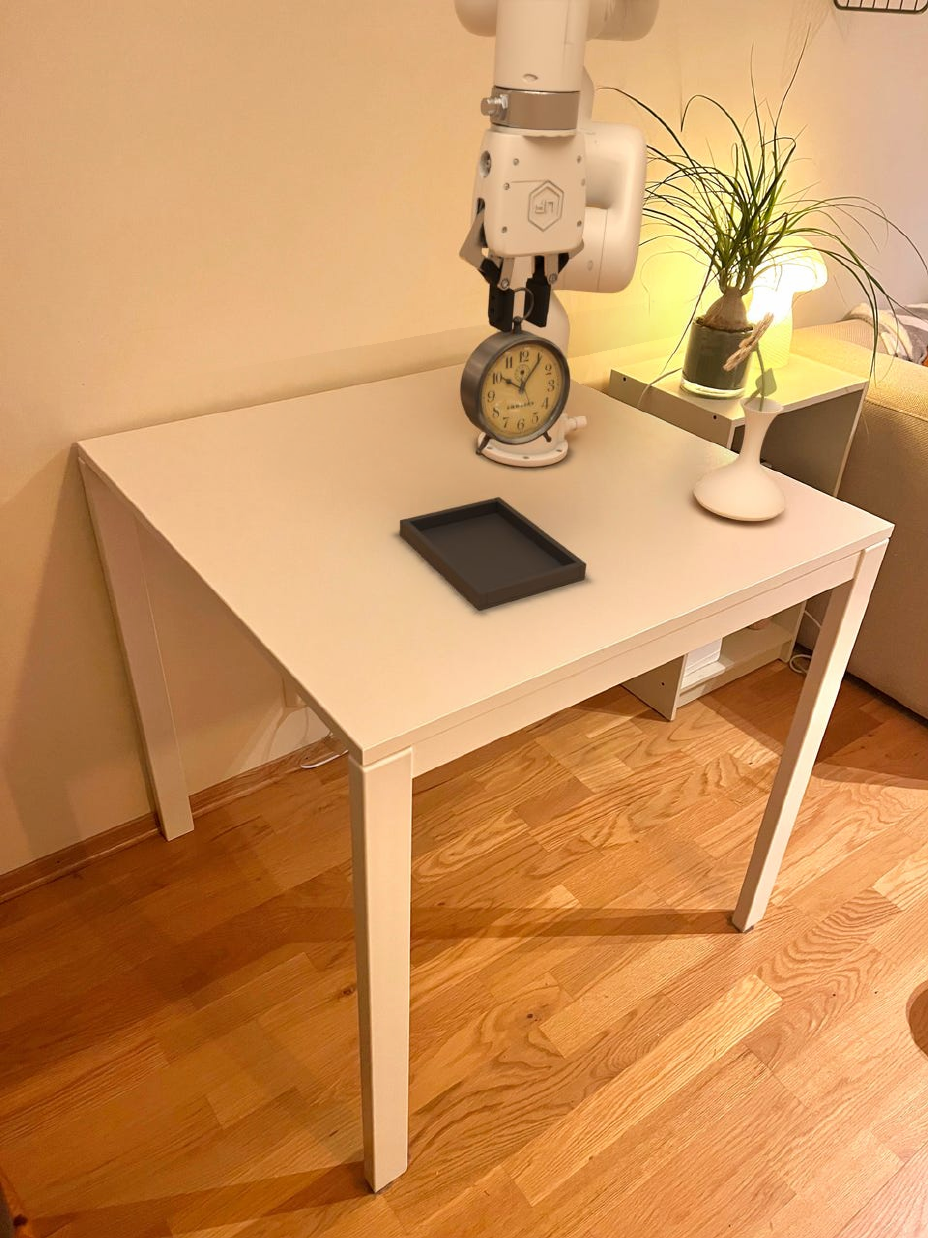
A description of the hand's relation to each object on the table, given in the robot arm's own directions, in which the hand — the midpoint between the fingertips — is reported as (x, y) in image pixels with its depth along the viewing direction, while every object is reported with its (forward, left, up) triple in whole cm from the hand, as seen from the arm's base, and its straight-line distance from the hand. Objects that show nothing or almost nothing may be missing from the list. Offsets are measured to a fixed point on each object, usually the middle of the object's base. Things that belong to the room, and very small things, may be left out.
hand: (517, 324), depth 89 cm
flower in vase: (-33, +4, -26) cm, 42 cm away
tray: (+1, 0, -26) cm, 26 cm away
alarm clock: (0, 0, -13) cm, 13 cm away
